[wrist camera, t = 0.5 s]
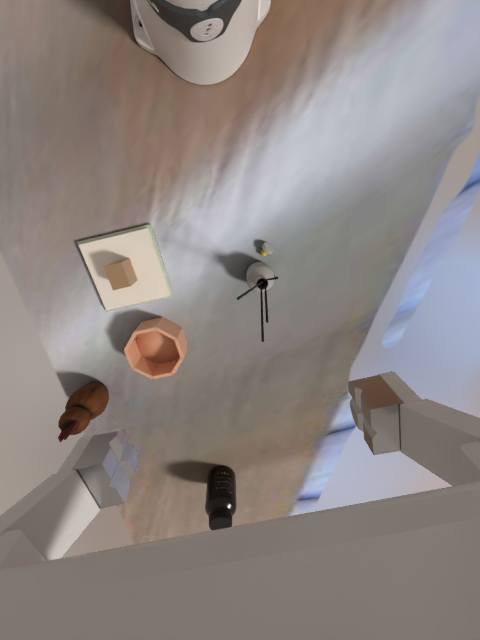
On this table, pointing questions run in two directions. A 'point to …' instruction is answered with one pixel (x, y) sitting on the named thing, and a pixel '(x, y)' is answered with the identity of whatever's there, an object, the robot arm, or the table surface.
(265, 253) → the reed diffuser
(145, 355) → the bowl
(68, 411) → the wooden figurine
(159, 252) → the mat
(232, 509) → the supplement bottle
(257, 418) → the table surface
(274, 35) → the table surface
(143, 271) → the lid
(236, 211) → the table surface
